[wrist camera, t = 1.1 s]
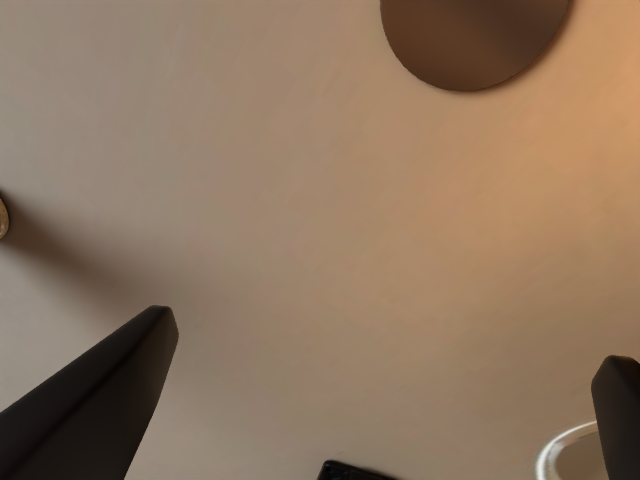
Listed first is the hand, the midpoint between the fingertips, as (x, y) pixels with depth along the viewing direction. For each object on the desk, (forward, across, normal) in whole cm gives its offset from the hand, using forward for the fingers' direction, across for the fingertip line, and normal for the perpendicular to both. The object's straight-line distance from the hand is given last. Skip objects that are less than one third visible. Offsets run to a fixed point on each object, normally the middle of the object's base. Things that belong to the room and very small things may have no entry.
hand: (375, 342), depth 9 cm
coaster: (+16, -3, -4) cm, 16 cm away
